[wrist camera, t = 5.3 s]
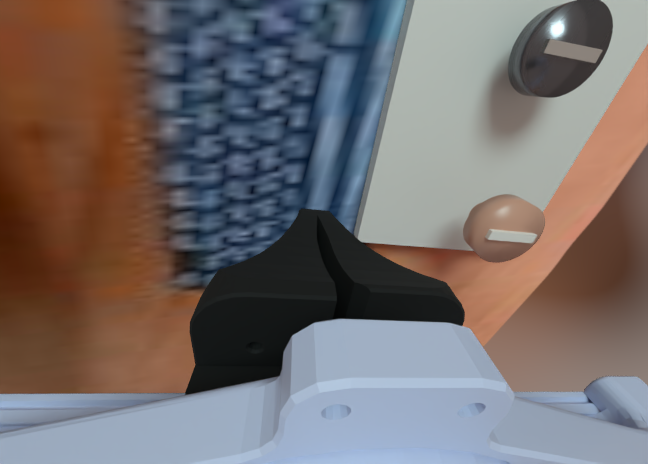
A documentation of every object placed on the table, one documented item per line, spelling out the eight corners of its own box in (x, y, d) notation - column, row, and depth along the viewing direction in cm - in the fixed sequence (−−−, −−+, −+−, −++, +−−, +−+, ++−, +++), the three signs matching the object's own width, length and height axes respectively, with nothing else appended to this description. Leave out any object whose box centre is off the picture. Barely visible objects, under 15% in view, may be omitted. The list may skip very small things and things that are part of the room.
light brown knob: (494, 241, 21) (525, 267, 18) (443, 236, 20) (466, 263, 17) (523, 189, 19) (563, 209, 16) (466, 182, 18) (497, 202, 15)
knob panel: (506, 245, 27) (516, 254, 25) (353, 233, 24) (356, 241, 23) (658, -15, 17) (688, -22, 15) (424, -75, 14) (436, -90, 13)
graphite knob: (538, 99, 18) (582, 103, 15) (480, 89, 17) (515, 91, 15) (578, 18, 16) (638, 5, 13) (513, 4, 15) (562, -13, 12)
